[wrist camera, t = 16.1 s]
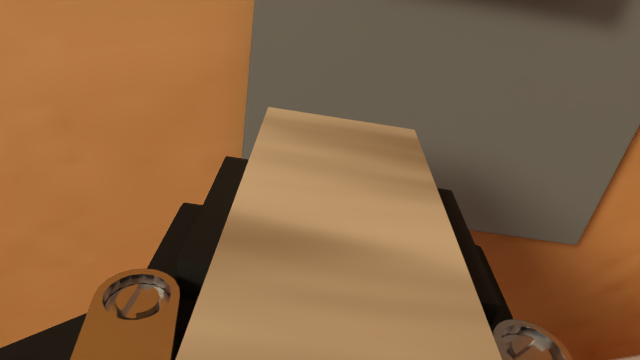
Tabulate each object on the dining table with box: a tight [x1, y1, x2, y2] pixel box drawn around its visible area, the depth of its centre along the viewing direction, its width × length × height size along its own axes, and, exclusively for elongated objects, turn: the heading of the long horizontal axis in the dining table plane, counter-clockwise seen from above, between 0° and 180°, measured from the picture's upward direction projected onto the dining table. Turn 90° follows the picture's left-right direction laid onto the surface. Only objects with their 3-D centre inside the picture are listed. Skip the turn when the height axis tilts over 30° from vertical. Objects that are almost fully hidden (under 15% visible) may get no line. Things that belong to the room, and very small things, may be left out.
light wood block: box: [175, 107, 502, 360], centre depth 9 cm, size 4×4×11 cm
